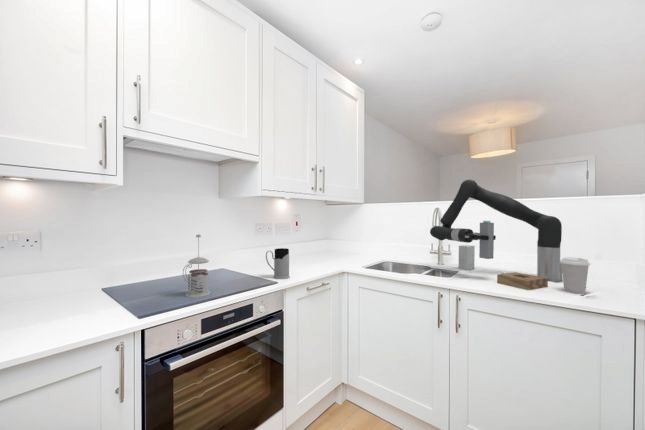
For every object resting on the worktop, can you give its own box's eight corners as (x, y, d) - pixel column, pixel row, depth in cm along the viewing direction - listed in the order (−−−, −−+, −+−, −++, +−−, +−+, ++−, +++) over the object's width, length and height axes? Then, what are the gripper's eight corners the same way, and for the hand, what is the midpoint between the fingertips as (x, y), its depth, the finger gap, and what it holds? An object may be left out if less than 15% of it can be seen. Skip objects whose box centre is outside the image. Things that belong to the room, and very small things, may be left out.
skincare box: (465, 267, 176) (465, 244, 176) (475, 269, 171) (475, 245, 171) (457, 269, 171) (458, 245, 171) (467, 270, 166) (467, 246, 166)
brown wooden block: (515, 282, 138) (515, 272, 138) (547, 289, 125) (547, 278, 125) (497, 284, 132) (497, 274, 132) (528, 292, 120) (528, 280, 120)
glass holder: (284, 279, 141) (284, 250, 141) (261, 277, 146) (261, 249, 146) (292, 276, 149) (292, 248, 149) (270, 274, 154) (270, 247, 154)
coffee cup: (582, 298, 112) (582, 261, 112) (555, 291, 121) (555, 257, 121) (594, 295, 116) (595, 259, 116) (567, 289, 124) (567, 256, 124)
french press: (202, 298, 110) (202, 235, 110) (176, 296, 112) (176, 235, 112) (215, 291, 120) (215, 233, 120) (191, 289, 122) (191, 233, 121)
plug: (485, 257, 143) (485, 220, 143) (493, 258, 139) (493, 220, 139) (479, 257, 141) (479, 220, 141) (487, 258, 137) (488, 220, 137)
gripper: (453, 228, 150) (482, 230, 135) (471, 228, 156) (501, 230, 140) (452, 242, 150) (482, 245, 135) (471, 241, 156) (501, 244, 140)
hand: (491, 237), depth 137 cm, fingers closed on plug, 4 cm apart
